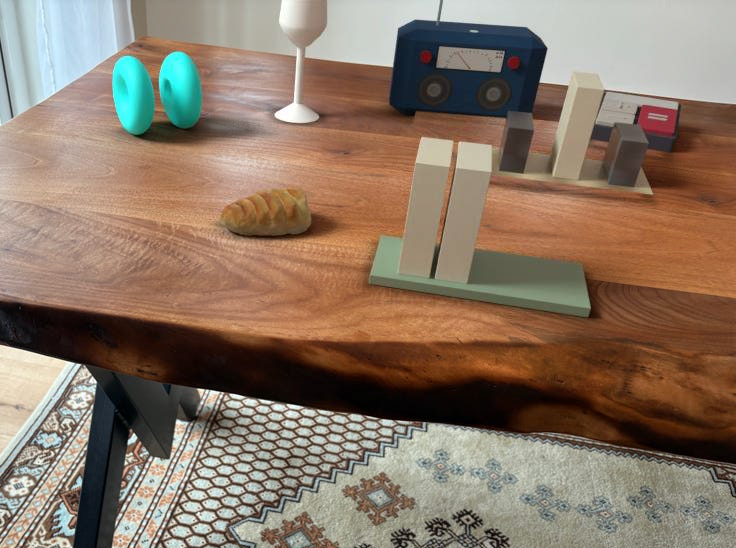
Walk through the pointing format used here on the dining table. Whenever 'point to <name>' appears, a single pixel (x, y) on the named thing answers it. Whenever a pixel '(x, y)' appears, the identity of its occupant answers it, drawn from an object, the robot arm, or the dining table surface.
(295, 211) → the pastry
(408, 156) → the dining table surface
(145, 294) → the dining table surface
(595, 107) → the cream book
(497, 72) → the radio
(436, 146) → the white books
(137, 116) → the donuts
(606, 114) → the calculator
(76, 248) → the dining table surface
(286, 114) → the champagne flute
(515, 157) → the grey bookends
